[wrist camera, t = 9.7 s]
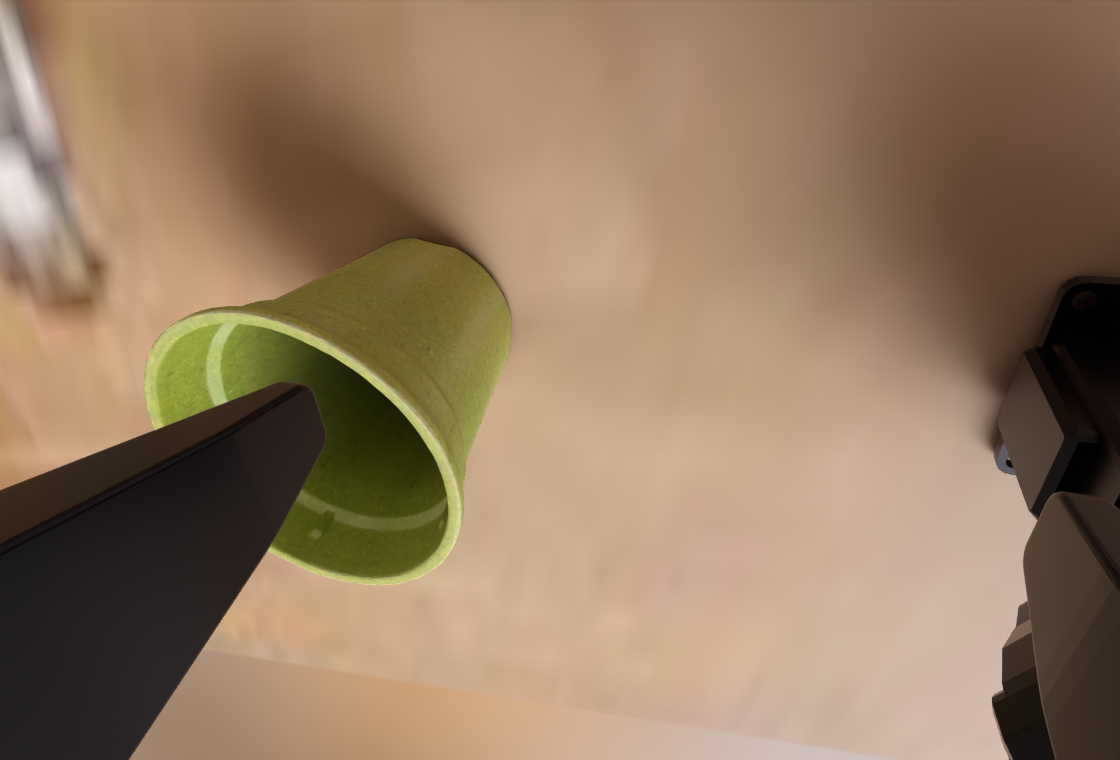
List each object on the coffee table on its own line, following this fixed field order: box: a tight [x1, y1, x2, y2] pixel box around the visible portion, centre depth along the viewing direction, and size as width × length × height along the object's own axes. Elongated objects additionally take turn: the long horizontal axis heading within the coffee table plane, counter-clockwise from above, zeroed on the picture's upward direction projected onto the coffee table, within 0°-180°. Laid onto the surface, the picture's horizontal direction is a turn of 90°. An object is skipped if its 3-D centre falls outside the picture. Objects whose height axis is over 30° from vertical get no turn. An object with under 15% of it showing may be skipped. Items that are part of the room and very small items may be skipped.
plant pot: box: [144, 238, 511, 585], centre depth 21 cm, size 9×9×9 cm
